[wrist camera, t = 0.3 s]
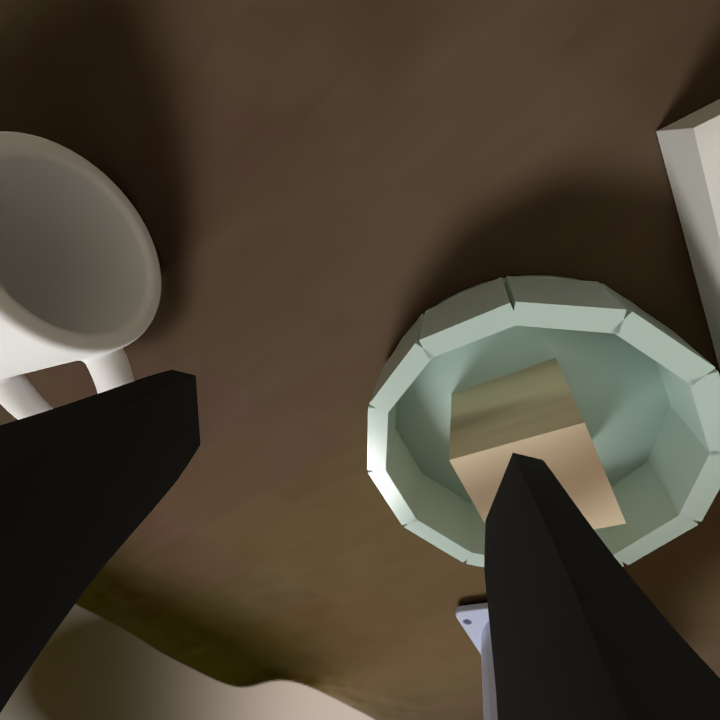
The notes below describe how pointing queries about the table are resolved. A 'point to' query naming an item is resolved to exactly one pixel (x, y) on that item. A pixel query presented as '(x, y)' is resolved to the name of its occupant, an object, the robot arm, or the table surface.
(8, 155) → the mug
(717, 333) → the white tray
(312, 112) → the table surface
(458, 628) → the table surface
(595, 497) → the maple block
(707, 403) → the green bowl
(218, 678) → the table surface
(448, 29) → the table surface
